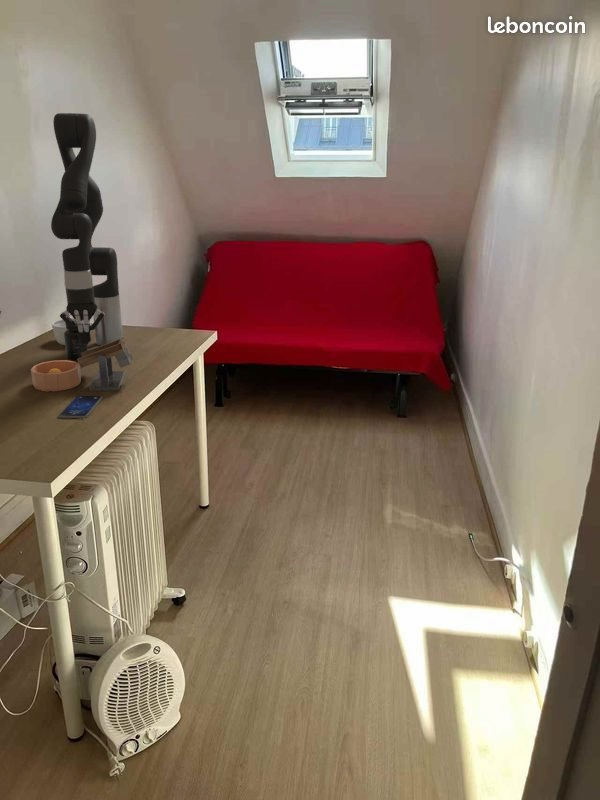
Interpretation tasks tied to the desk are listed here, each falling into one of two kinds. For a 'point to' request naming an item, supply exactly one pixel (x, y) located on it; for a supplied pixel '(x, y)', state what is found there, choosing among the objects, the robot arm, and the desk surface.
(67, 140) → the robot arm
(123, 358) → the chute
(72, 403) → the smartphone
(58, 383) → the pink round bowl
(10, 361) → the desk surface
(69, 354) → the supplement bottle
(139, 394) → the desk surface
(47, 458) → the desk surface
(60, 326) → the white bowl
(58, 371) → the ball
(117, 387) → the chute stand
